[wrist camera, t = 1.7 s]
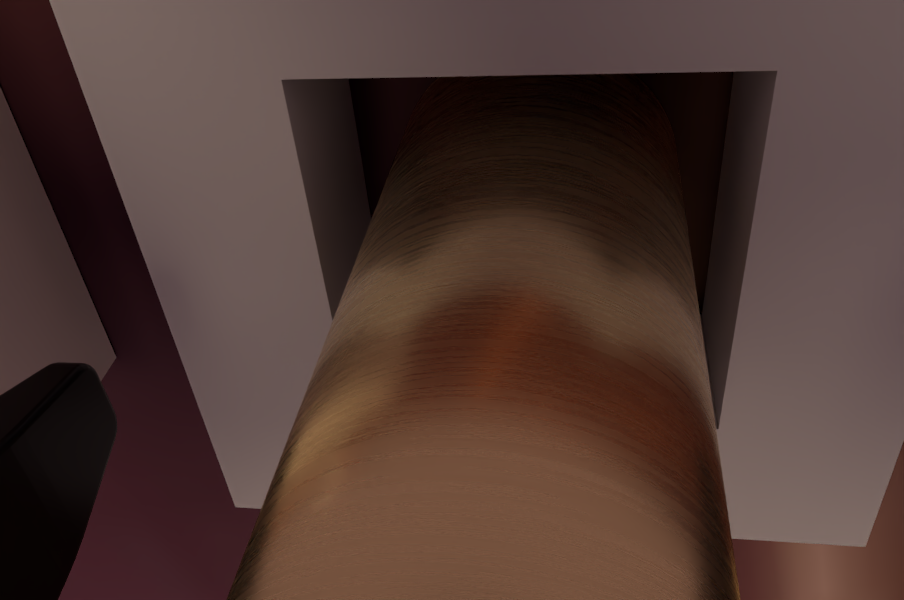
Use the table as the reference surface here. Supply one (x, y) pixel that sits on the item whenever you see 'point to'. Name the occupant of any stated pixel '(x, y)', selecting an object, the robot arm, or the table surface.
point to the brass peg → (510, 370)
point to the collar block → (504, 54)
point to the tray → (39, 276)
